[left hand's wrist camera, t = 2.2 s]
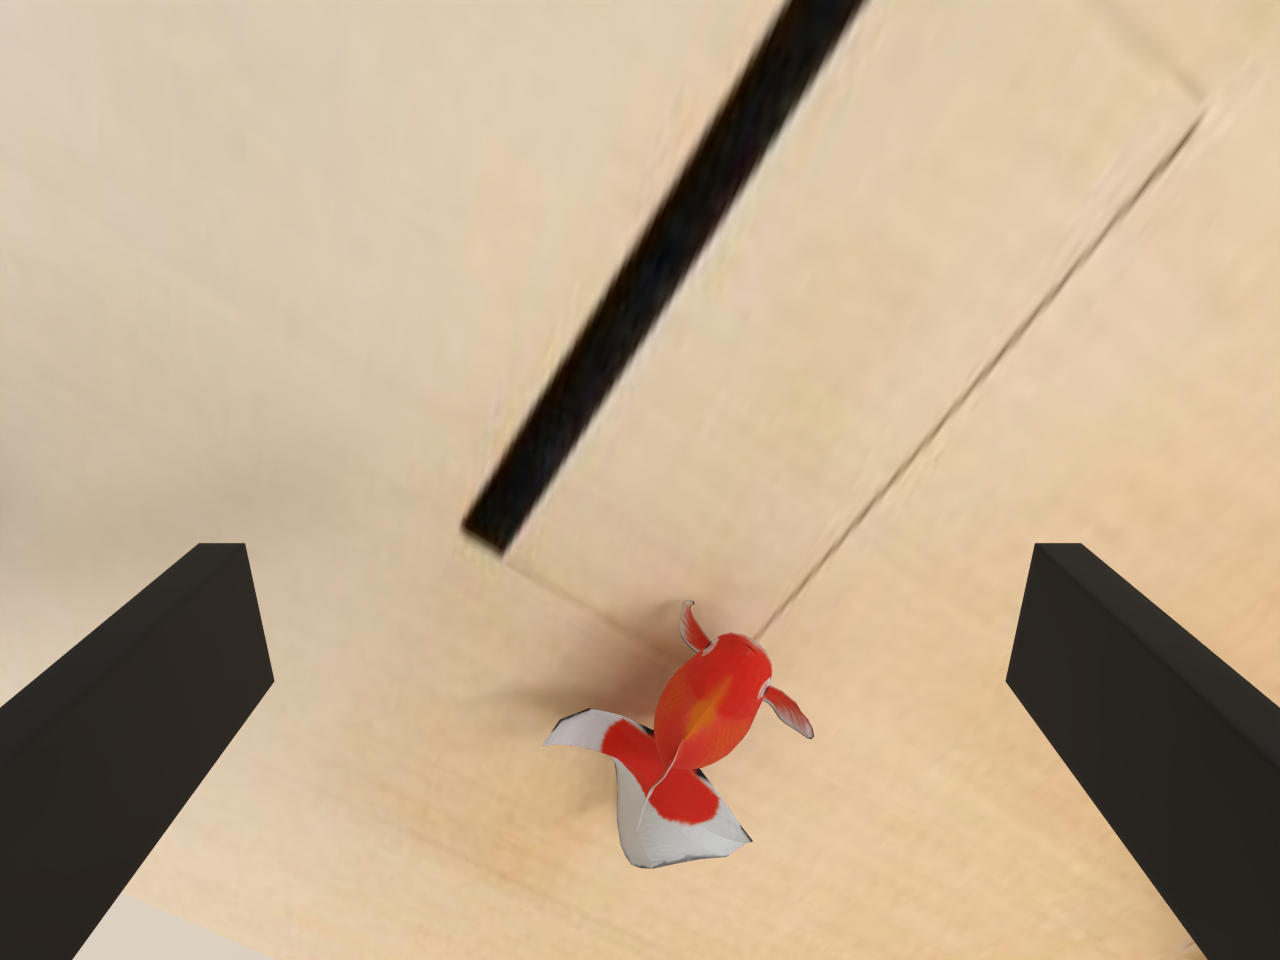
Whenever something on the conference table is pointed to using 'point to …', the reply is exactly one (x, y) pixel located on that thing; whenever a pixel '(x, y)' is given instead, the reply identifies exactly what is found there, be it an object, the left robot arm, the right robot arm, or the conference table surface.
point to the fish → (684, 749)
